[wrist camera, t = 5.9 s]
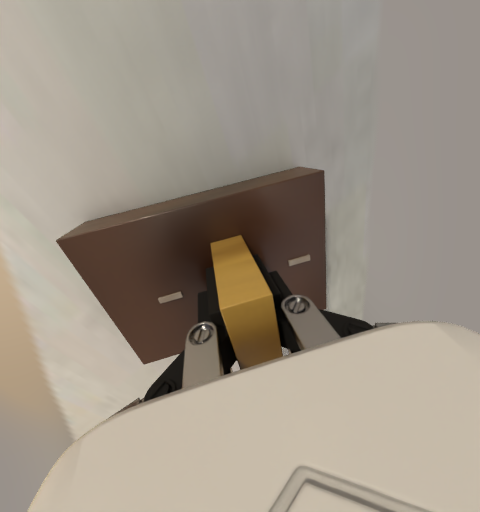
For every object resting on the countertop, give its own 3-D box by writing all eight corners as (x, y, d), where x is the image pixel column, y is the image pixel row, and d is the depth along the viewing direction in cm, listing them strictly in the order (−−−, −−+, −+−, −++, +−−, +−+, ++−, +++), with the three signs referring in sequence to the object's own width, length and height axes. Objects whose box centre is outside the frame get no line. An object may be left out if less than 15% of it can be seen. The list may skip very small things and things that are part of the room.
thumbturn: (210, 243, 12) (220, 314, 6) (241, 234, 12) (275, 298, 7) (232, 314, 14) (251, 404, 9) (257, 306, 14) (290, 392, 9)
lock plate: (300, 166, 14) (326, 170, 11) (307, 286, 18) (327, 310, 16) (84, 221, 13) (52, 241, 10) (151, 332, 17) (143, 367, 15)
